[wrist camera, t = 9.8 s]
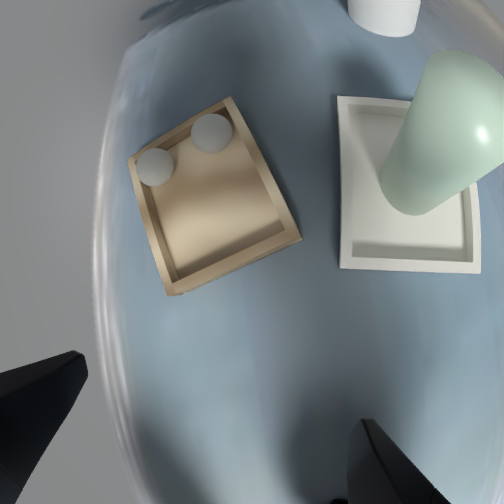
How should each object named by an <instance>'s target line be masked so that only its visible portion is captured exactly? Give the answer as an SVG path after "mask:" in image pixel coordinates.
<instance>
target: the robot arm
mask: <svg viewBox="0 0 504 504" xmlns="http://www.w3.org/2000/svg"><path fill="white" fill-rule="evenodd" d="M87 377H88V369H87V365H86V360H85V356H84V355H83V354H82V353H79V352H77V351H74V350H73V351H70V352H66V353H63V354H60V355H57V356H54V357H51V358H48V359H44V360H41V361H38V362H35V363H32V364H28V365H25V366H22V367H19V368H16V369H12V370H8V371H5V372H2V373H0V504H15V503H16V501H17V499H18V497H19V495H20V493H21V492H22V490H23V489H22V488H24V486H25V484H26V482H27V480H28V479H29V477H30V475H31V473H32V472H33V470H34V468H35V466H36V465H37V463H38V461H39V460H40V457H41V456H42V455H43V453H44V451H45V450H46V448H47V447H48V445H49V443H50V442H51V440H52V439H53V437H54V435H55V434H56V432H57V431H58V429H59V427H60V426H61V424H62V423H63V421H64V420H65V418H66V417H67V415H68V413H69V412H70V410H71V408H72V407H73V405H74V403H75V401H76V399H77V396H78V395H79V393H80V391H81V389H82V387H83V385H84V383H85V381H86V379H87ZM347 489H348V501H346V500H340V499H335V500H333V501H331V503H330V504H451V503H450V502H449V501H448V500H447V499H446V498H445V497H444V496H443V495H442V494H441V493H440V492H439V491H438V490H437V489H436V488H434V486H433V485H432V484H431V482H430V481H429V480H428V479H427V478H426V477H425V476H424V475H423V474H422V473H421V472H420V471H419V469H418V468H417V467H416V466H415V465H414V464H413V463H412V462H411V461H410V460H409V459H408V457H407V456H406V455H405V454H404V453H403V452H402V451H401V450H400V449H399V447H398V446H397V445H396V444H395V443H394V442H393V441H392V440H391V439H390V437H389V436H388V435H387V434H386V433H385V432H384V431H383V430H382V429H381V427H380V426H379V425H378V424H377V423H376V422H375V421H374V420H373V419H365V418H362V419H360V420H359V421H358V422H357V424H356V426H355V427H354V429H353V430H352V432H351V433H350V436H349V445H348V468H347Z"/></svg>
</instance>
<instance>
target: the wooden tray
mask: <svg viewBox="0 0 504 504" xmlns="http://www.w3.org/2000/svg"><path fill="white" fill-rule="evenodd" d="M206 114H219V115H221V116H223V117H224V118H226V119H227V120H228V121H229V123H230V125H231V127H232V139H231V141H230V143H229V145H228V146H227V147H226V148H225V149H224V150H222V151H220V152H218V153H212V154H210V153H204V152H202V151H200V150H199V149H197V148H196V147H195V145H194V144H193V142H192V139H191V129H192V126H193V124H194V123H195V121H196V120H197V119H198V118H200V117H201V116H203V115H206ZM152 148H160V149H163V150H165V151H167V152H168V153H169V154H170V155H171V157H172V158H173V161H174V172H173V175H172V177H171V178H170V179H169V181H167V182H166V183H165V184H163V185H161V186H157V187H152V186H148V185H145V184H144V183H142V182H141V181H140V179H139V178H138V176H137V173H136V164H137V161H138V159H139V157H140V156H141V155H142V154H143V153H144V152H145V151H147V150H149V149H152ZM127 162H128V166H129V170H130V174H131V178H132V182H133V186H134V190H135V194H136V198H137V201H138V205H139V209H140V212H141V216H142V219H143V223H144V226H145V230H146V233H147V236H148V239H149V243H150V246H151V249H152V252H153V255H154V258H155V261H156V264H157V267H158V270H159V273H160V276H161V279H162V282H163V285H164V287H165V290H166V293H167V296H176V295H182V294H184V293H186V292H189V291H191V290H193V289H195V288H198V287H200V286H202V285H204V284H206V283H209V282H211V281H213V280H215V279H218V278H220V277H222V276H224V275H226V274H229V273H231V272H233V271H235V270H237V269H240V268H242V267H244V266H246V265H248V264H251V263H253V262H255V261H257V260H259V259H262V258H264V257H266V256H268V255H270V254H273V253H275V252H277V251H279V250H281V249H283V248H286V247H288V246H290V245H292V244H294V243H296V242H299V241H301V240H303V238H302V236H301V234H300V231H299V229H298V227H297V225H296V223H295V221H294V218H293V216H292V214H291V212H290V210H289V208H288V206H287V204H286V201H285V199H284V197H283V195H282V193H281V191H280V189H279V187H278V185H277V183H276V181H275V179H274V177H273V175H272V173H271V171H270V169H269V167H268V165H267V163H266V161H265V159H264V157H263V155H262V153H261V151H260V149H259V147H258V145H257V143H256V141H255V139H254V137H253V135H252V133H251V131H250V130H249V128H248V126H247V124H246V122H245V120H244V118H243V116H242V115H241V113H240V111H239V109H238V107H237V106H236V104H235V102H234V101H233V99H232V98H231V96H229V97H227V98H226V99H224V100H222V101H220V102H218V103H216V104H214V105H212V106H211V107H209V108H207V109H205V110H203V111H202V112H200V113H198V114H196V115H195V116H193V117H191V118H190V119H188V120H186V121H184V122H183V123H181V124H180V125H178V126H176V127H175V128H173V129H171V130H170V131H168V132H167V133H165V134H164V135H162V136H160V137H159V138H157V139H156V140H154V141H153V142H151V143H150V144H148V145H147V146H145V147H144V148H143V149H141V150H140V151H138V152H137V153H135V154H134V155H133V156H131V157H130V158H128V159H127Z"/></svg>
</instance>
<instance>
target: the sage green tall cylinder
mask: <svg viewBox="0 0 504 504" xmlns="http://www.w3.org/2000/svg"><path fill="white" fill-rule="evenodd" d="M503 162H504V78H503V76H502V75H501V74H500V73H498V72H497V71H496V70H495V69H494V68H493V67H492V66H490V65H489V64H488V63H486V62H485V61H483V60H482V59H480V58H478V57H476V56H474V55H472V54H470V53H467V52H464V51H460V50H455V49H445V50H440V51H438V52H436V53H434V54H433V55H431V57H430V58H429V59H428V61H427V64H426V66H425V69H424V72H423V74H422V77H421V80H420V82H419V85H418V87H417V90H416V92H415V95H414V97H413V100H412V102H411V104H410V107H409V109H408V112H407V114H406V116H405V119H404V121H403V123H402V125H401V128H400V130H399V132H398V134H397V137H396V139H395V141H394V143H393V145H392V147H391V150H390V152H389V154H388V156H387V158H386V160H385V162H384V164H383V166H382V169H381V173H380V185H381V189H382V192H383V194H384V196H385V198H386V200H387V201H388V202H389V203H390V205H391V206H392V207H394V208H395V209H396V210H398V211H399V212H401V213H403V214H406V215H410V216H419V215H423V214H426V213H427V212H429V211H431V210H432V209H434V208H436V207H437V206H439V205H440V204H442V203H443V202H445V201H447V200H448V199H450V198H451V197H453V196H454V195H456V194H457V193H459V192H461V191H462V190H464V189H465V188H467V187H468V186H470V185H471V184H473V183H474V182H476V181H477V180H479V179H480V178H482V177H483V176H485V175H486V174H487V173H489V172H490V171H492V170H493V169H495V168H496V167H498V166H499V165H500V164H502V163H503Z"/></svg>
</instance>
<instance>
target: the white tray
mask: <svg viewBox="0 0 504 504" xmlns="http://www.w3.org/2000/svg"><path fill="white" fill-rule="evenodd" d="M410 104H411V102H410V101H402V100H392V99H382V98H369V97H351V96H337V114H338V129H339V148H340V184H341V217H340V253H339V269H359V270H382V271H406V272H432V273H461V274H481V229H480V212H479V201H478V191H477V183H476V182H474V183H473V184H471V185H470V186H468V187H467V188H465V189H464V190H462V191H461V192H459V193H457V194H456V195H454V196H453V197H451V198H450V199H448V200H447V201H445V202H443V203H442V204H440V205H439V206H437V207H436V208H434V209H432V210H431V211H429V212H427V213H426V214H423V215H419V216H410V215H406V214H403V213H401V212H399V211H398V210H396V209H395V208H394V207H392V206H391V205H390V203H389V202H388V201H387V200H386V198H385V196H384V194H383V192H382V189H381V185H380V173H381V169H382V166H383V164H384V162H385V160H386V158H387V156H388V154H389V152H390V150H391V147H392V145H393V143H394V141H395V139H396V137H397V134H398V132H399V130H400V128H401V125H402V123H403V121H404V119H405V116H406V114H407V112H408V109H409V107H410Z"/></svg>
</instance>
